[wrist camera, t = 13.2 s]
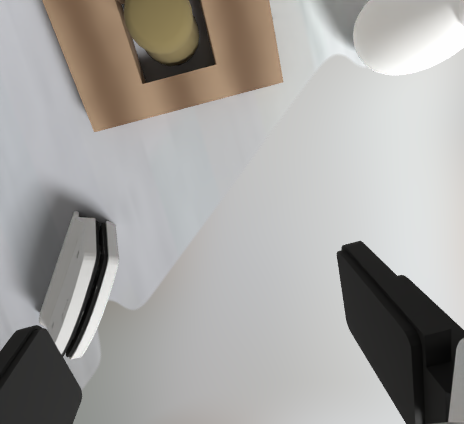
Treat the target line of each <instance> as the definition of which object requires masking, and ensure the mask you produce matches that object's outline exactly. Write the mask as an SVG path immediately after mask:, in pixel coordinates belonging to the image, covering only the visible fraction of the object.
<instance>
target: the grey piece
mask: <svg viewBox="0 0 464 424" xmlns="http://www.w3.org/2000/svg"><path fill="white" fill-rule="evenodd" d="M118 263H119V254H118V244H117V234H116V225H115V224H113V223H111V222H109V221H106V223H102V225H101V228H100V231H99V224H98V222H95V218H84V217H79V212H77V211H74V213H73V216H72V219H71V222H70V225H69V228H68V231H67V234H66V237H65V240H64V243H63V246H62V249H61V252H60V255H59V258H58V261H57V264H56V267H55V270H54V273H53V276H52V279H51V282H50V285H49V288H48V290H47V293H46V296H45V299H44V302H43V305H42V308H41V311H40V317H39V323H40V324H42V325H43V326H45V327H46V328H47V329H48V332H49V334H50V336H51V337H52V339H53V341H54V343H55V344H56V346H57V348H58V350H59V351H60V353H61V355H62V357H63V356H64V354H65V353H66V357H69V358H70V359H75V358H79V357H82V355H83V354H84V353H85V351H86V349H87V348H88V346H89V344H90V342H91V340H92V338H93V336H94V334H95V332H96V330H97V327H98V325H99V323H100V320H101V317H102V315H103V312H104V310H105V307H106V304H107V301H108V298H109V295H110V292H111V289H112V286H113V282H114V279H115V275H116V271H117V268H118Z"/></svg>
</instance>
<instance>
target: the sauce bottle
mask: <svg viewBox="0 0 464 424" xmlns="http://www.w3.org/2000/svg"><path fill="white" fill-rule="evenodd" d="M353 41H354V46H355V50H356V52H357V54H358V56H359V58H360V59H361V61H362V62H363V63H364V64H365V65H366V66H367V67H368V68H370V69H371V70H374V71H376V72H378V73H381V74H388V75H404V74H411V73H414V72H418V71H421V70H424V69H427V68H430V67H432V66H434V65H436V64H438V63H440V62H442V61H444V60H446V59H447V58H449V57H451V56H452V55H454V54H455V53H457V52H458V51H459V50H461V49H462V48H464V0H369V1H368V2H367V3H366V4H365V6H364V7H363V9H362V10H361V12H360V13H359V15H358V17H357V20H356V22H355V26H354V30H353Z"/></svg>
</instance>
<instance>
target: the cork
mask: <svg viewBox="0 0 464 424" xmlns="http://www.w3.org/2000/svg"><path fill="white" fill-rule="evenodd" d="M124 18H125V23H126V27H127V29H128V31H129V33H130V35H131V37H132V38H133V39H134V40H135V41H136V43H137V44H138V45H139V46H141V47H142V48H144V49H145V50H146V52H147V53H148V54H149V55H150V56H151V58H152V59H154V60H155V61H157V62H158V63H160V64H163V65H167V66H177V65H181V64H183V63H185V62H187V61H188V60H189V59H190V58H191V57H192V56H193V55H194V53H195V51H196V49H197V47H198V42H199V29H198V25H197V22H196V20H195V17H194V16H193V15H192V7H191V5H190V2H189V0H125V4H124Z"/></svg>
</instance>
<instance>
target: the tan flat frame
mask: <svg viewBox="0 0 464 424" xmlns="http://www.w3.org/2000/svg"><path fill="white" fill-rule="evenodd" d="M42 1H43V3H44V6H45V8H46V11H47V13H48V16H49V19H50V21H51V24H52V26H53V29H54V31H55V34H56V36H57V39H58V41H59V44H60V46H61V49H62V51H63V54H64V56H65V59H66V62H67V64H68V67H69V69H70V72H71V74H72V77H73V79H74V82H75V84H76V87H77V89H78V92H79V94H80V97H81V100H82V102H83V105H84V107H85V110H86V112H87V115H88V117H89V120H90V122H91V125H92V127H93V130H94V132H97V131H101V130H105V129H108V128H112V127H116V126H120V125H123V124H127V123H131V122H135V121H138V120H142V119H146V118H150V117H154V116H157V115H161V114H165V113H169V112H172V111H176V110H180V109H184V108H188V107H191V106H195V105H199V104H203V103H206V102H210V101H214V100H218V99H221V98H225V97H229V96H233V95H237V94H240V93H244V92H248V91H252V90H255V89H259V88H263V87H267V86H271V85H274V84H278V83H282V82H283V77H282V72H281V66H280V60H279V54H278V49H277V43H276V37H275V32H274V26H273V20H272V15H271V9H270V3H269V0H199V1H200V5H201V9H202V13H203V17H204V21H205V25H206V29H207V34H208V38H209V42H210V46H211V50H212V54H213V58H214V62H215V65H213V66H209V67H205V68H201V69H197V70H194V71H190V72H186V73H182V74H179V75H175V76H171V77H167V78H164V79H160V80H156V81H152V82H149V83H146V80H145V77H144V74H143V71H142V67H141V64H140V61H139V58H138V55H137V52H136V49H135V46H134V42H133V39H132V37H131V35H130V33H129V31H128V29H127V27H126V23H125V18H124V11H123V8H122V5H121V4H125V0H42Z"/></svg>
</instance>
